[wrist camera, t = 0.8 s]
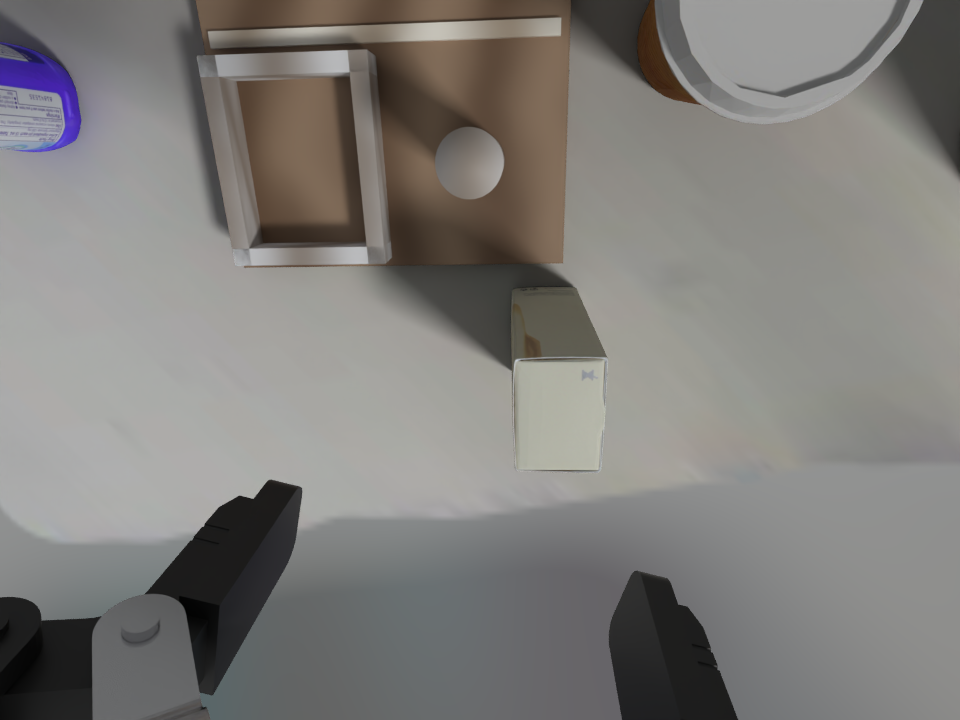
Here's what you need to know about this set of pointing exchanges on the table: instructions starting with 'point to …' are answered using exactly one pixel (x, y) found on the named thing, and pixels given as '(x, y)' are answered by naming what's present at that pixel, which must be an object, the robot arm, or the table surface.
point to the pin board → (389, 129)
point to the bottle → (35, 102)
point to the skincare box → (556, 382)
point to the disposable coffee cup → (767, 52)
